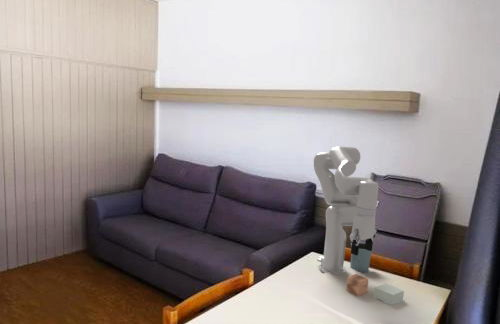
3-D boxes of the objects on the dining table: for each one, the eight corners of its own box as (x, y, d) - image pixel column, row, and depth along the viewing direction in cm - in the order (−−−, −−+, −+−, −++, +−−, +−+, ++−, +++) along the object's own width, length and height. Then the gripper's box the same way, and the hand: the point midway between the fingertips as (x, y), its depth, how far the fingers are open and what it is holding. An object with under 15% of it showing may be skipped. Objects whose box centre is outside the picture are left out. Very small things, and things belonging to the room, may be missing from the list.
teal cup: (365, 265, 202) (368, 242, 201) (373, 274, 192) (376, 249, 191) (345, 265, 202) (348, 241, 200) (352, 273, 192) (355, 248, 190)
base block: (374, 296, 165) (375, 287, 164) (384, 292, 170) (386, 283, 169) (391, 304, 159) (393, 295, 158) (402, 299, 164) (403, 290, 163)
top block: (346, 290, 169) (347, 276, 168) (354, 287, 173) (356, 273, 172) (358, 296, 164) (359, 282, 164) (366, 292, 168) (368, 278, 167)
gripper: (370, 207, 173) (365, 246, 175) (345, 211, 161) (340, 253, 164) (385, 211, 167) (381, 251, 169) (361, 216, 156) (356, 259, 158)
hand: (361, 252), depth 166 cm, fingers open, 9 cm apart
